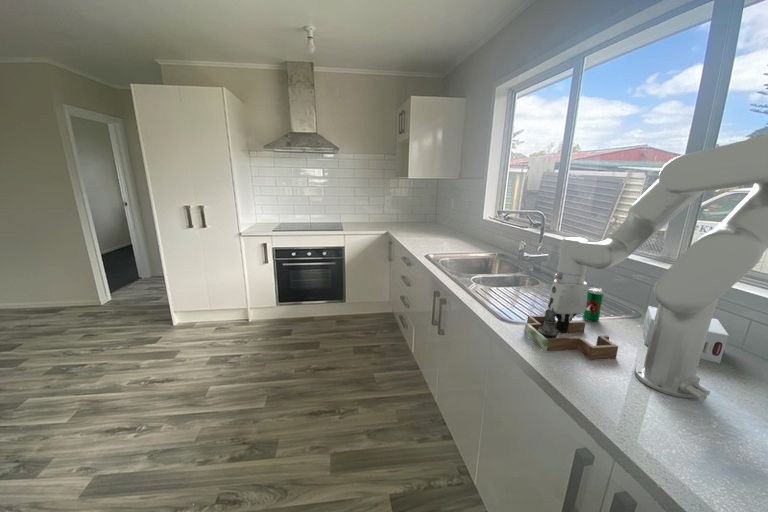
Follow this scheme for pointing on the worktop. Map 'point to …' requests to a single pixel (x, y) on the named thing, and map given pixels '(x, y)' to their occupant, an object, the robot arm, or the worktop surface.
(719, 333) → the supplement box
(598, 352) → the wooden zigzag wall frame
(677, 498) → the worktop surface
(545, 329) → the stone chess piece
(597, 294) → the soda can
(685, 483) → the worktop surface
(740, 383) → the worktop surface
